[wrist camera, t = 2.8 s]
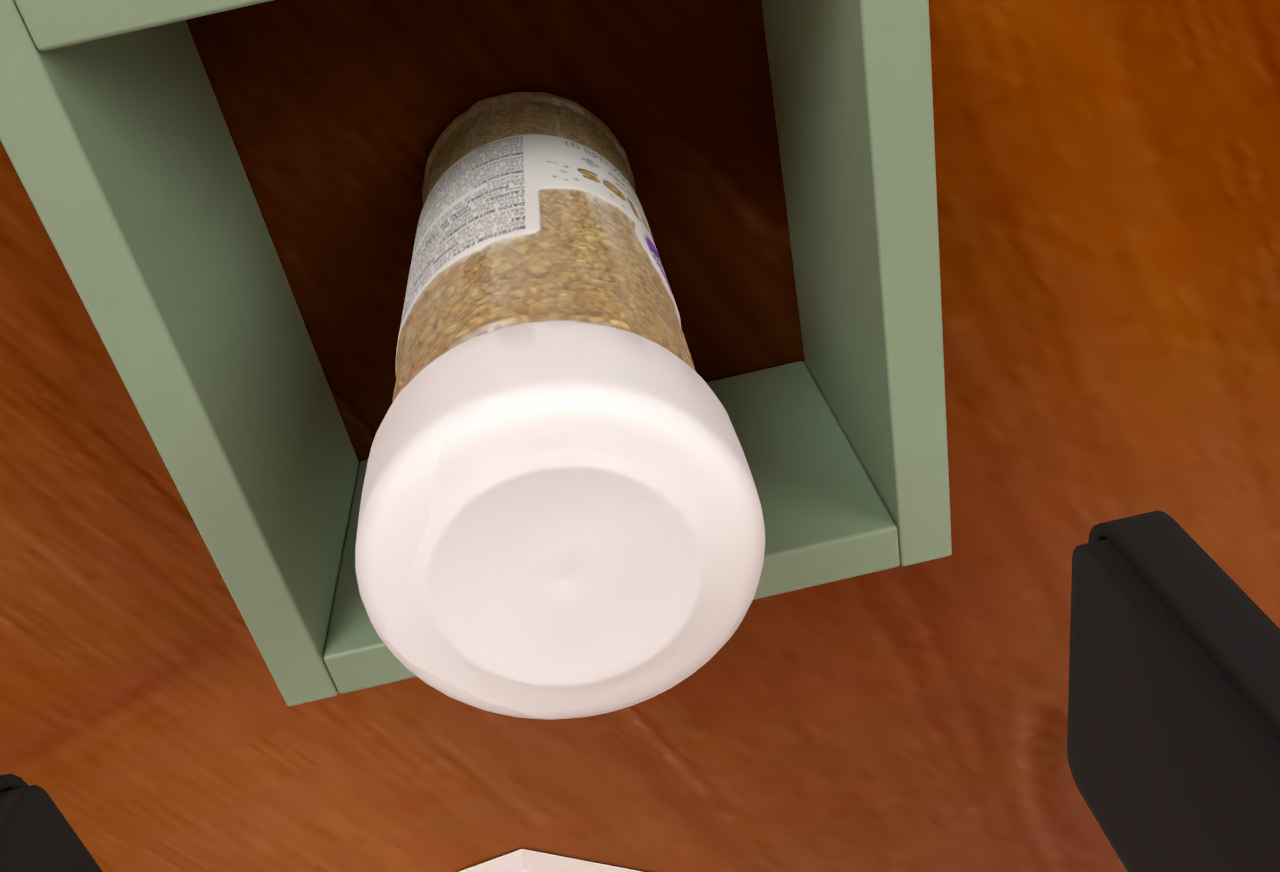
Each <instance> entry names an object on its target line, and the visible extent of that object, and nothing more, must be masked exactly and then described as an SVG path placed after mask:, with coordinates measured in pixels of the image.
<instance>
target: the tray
mask: <svg viewBox="0 0 1280 872" xmlns="http://www.w3.org/2000/svg"><path fill="white" fill-rule="evenodd" d="M459 872H642V871H637V870H631V869H626V868H621V867H615V866H610V865H605V864H600V863H594V862H589V861H584V860H578V859H573V858H568V857H563V856H557V855H552V854H547V853H541V852H536V851H531V850H526V849H520V850H517V851H515V852H512V853H509V854H506V855H504V856H501V857H498V858H495V859H492V860H490V861H487V862H484V863H481V864H479V865H476V866H473V867H470V868H467V869H465V870H462V871H459Z"/></svg>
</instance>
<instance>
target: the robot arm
mask: <svg viewBox="0 0 1280 872" xmlns="http://www.w3.org/2000/svg"><path fill="white" fill-rule="evenodd" d="M1067 752H1068V760H1069V765H1070V769H1071V772H1072V775H1073V778H1074V780H1075V783H1076V785H1077V787H1078V789H1079V791H1080V793H1081V795H1082V796H1083V798H1084V800H1085V801H1086V803H1087V805H1088V806H1089V808H1090V810H1091V811H1092V813H1093V815H1094V816H1095V818H1096V820H1097V821H1098V823H1099V825H1100V826H1101V828H1102V830H1103V831H1104V833H1105V835H1106V836H1107V838H1108V840H1109V841H1110V843H1111V845H1112V846H1113V848H1114V850H1115V851H1116V853H1117V854H1118V856H1119V858H1120V859H1121V861H1122V863H1123V864H1124V866H1125V868H1126V869H1127V871H1128V872H1280V629H1279V628H1278V627H1277V626H1276V625H1275V624H1274V623H1273V622H1272V621H1271V620H1270V619H1269V617H1268V616H1267V615H1266V614H1265V613H1264V612H1263V611H1262V610H1261V609H1260V608H1259V607H1258V606H1257V605H1256V604H1255V603H1254V602H1253V601H1252V600H1251V599H1250V598H1249V597H1248V596H1247V595H1246V594H1245V593H1244V592H1243V591H1242V590H1241V589H1240V588H1239V586H1238V585H1237V584H1236V583H1235V582H1234V581H1233V580H1232V579H1231V578H1230V577H1229V576H1228V575H1227V574H1226V573H1225V572H1224V571H1223V570H1222V569H1221V568H1220V567H1219V566H1218V565H1217V564H1216V563H1215V562H1214V561H1213V560H1212V559H1211V558H1210V557H1209V555H1208V554H1207V553H1206V552H1205V551H1204V550H1203V549H1202V548H1201V547H1200V546H1199V545H1198V544H1197V543H1196V542H1195V541H1194V540H1193V539H1192V538H1191V537H1190V536H1189V535H1188V534H1187V533H1186V532H1185V531H1184V530H1183V529H1182V528H1181V527H1180V526H1179V524H1178V523H1177V522H1176V521H1175V520H1174V519H1172V518H1171V517H1170V516H1169V515H1167V514H1166V513H1165V512H1161V511H1153V512H1149V513H1144V514H1140V515H1136V516H1131V517H1127V518H1122V519H1118V520H1114V521H1109V522H1105V523H1101V524H1098V525H1095V526H1093V528H1092V530H1091V532H1090V535H1089V541H1088V543H1087V544H1083V545H1079V546H1077V547H1076V548H1075V550H1074V551H1073V558H1072V592H1071V629H1070V667H1069V705H1068V742H1067ZM0 872H102V870H101V869H100V867H99V866H98V865H97V863H96V862H95V860H94V859H93V858H92V856H91V855H90V853H89V852H88V850H87V849H86V848H85V846H84V845H83V843H82V842H81V840H80V839H79V838H78V836H77V835H76V833H75V832H74V830H73V829H72V828H71V826H70V825H69V823H68V822H67V821H66V819H65V818H64V816H63V815H62V813H61V812H60V811H59V809H58V808H57V806H56V805H55V803H54V802H53V801H52V799H51V798H50V796H49V795H48V794H47V793H46V792H45V790H44V789H43V788H41V787H39V786H36V785H33V786H28V785H27V784H26V783H25V782H24V781H23V780H22V778H20V777H18V776H15V775H13V774H7V775H0Z"/></svg>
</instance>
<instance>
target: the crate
mask: <svg viewBox="0 0 1280 872" xmlns="http://www.w3.org/2000/svg"><path fill="white" fill-rule="evenodd" d="M268 1H273V0H0V140H1V142H2V144H3V146H4V148H5V150H6V152H7V154H8V156H9V158H10V160H11V162H12V164H13V166H14V168H15V170H16V172H17V174H18V176H19V178H20V180H21V182H22V184H23V186H24V188H25V190H26V191H27V193H28V195H29V197H30V199H31V201H32V203H33V205H34V207H35V209H36V211H37V213H38V215H39V217H40V219H41V221H42V223H43V225H44V227H45V229H46V231H47V233H48V235H49V237H50V239H51V241H52V243H53V245H54V247H55V249H56V251H57V253H58V255H59V257H60V258H61V260H62V262H63V264H64V266H65V268H66V270H67V272H68V274H69V276H70V278H71V280H72V282H73V284H74V286H75V288H76V290H77V292H78V294H79V296H80V298H81V300H82V302H83V304H84V306H85V308H86V310H87V312H88V314H89V316H90V318H91V320H92V322H93V324H94V326H95V327H96V329H97V331H98V333H99V335H100V337H101V339H102V341H103V343H104V345H105V347H106V349H107V351H108V353H109V355H110V357H111V359H112V361H113V363H114V365H115V367H116V369H117V371H118V373H119V375H120V377H121V379H122V381H123V383H124V385H125V387H126V389H127V391H128V393H129V394H130V396H131V398H132V400H133V402H134V404H135V406H136V408H137V410H138V412H139V414H140V416H141V418H142V420H143V422H144V424H145V426H146V428H147V430H148V432H149V434H150V436H151V438H152V440H153V442H154V444H155V446H156V448H157V450H158V452H159V454H160V456H161V458H162V460H163V461H164V463H165V465H166V467H167V469H168V471H169V473H170V475H171V477H172V479H173V481H174V483H175V485H176V487H177V489H178V491H179V493H180V495H181V497H182V499H183V501H184V503H185V505H186V507H187V509H188V511H189V513H190V515H191V517H192V519H193V521H194V523H195V525H196V527H197V529H198V530H199V532H200V534H201V536H202V538H203V540H204V542H205V544H206V546H207V548H208V550H209V552H210V554H211V556H212V558H213V560H214V562H215V564H216V566H217V568H218V570H219V572H220V574H221V576H222V578H223V580H224V582H225V584H226V586H227V588H228V590H229V592H230V594H231V596H232V597H233V599H234V601H235V603H236V605H237V607H238V609H239V611H240V613H241V615H242V617H243V619H244V621H245V623H246V625H247V627H248V629H249V631H250V633H251V635H252V637H253V639H254V641H255V643H256V645H257V647H258V649H259V651H260V653H261V655H262V657H263V659H264V661H265V663H266V664H267V666H268V668H269V670H270V672H271V674H272V676H273V678H274V680H275V682H276V684H277V686H278V688H279V690H280V692H281V694H282V696H283V698H284V700H285V702H286V704H287V705H288V706H294V705H299V704H303V703H307V702H312V701H316V700H320V699H325V698H329V697H334V696H336V695H337V694H338V692H339V693H342V694H344V693H348V692H353V691H357V690H361V689H366V688H370V687H375V686H379V685H383V684H388V683H392V682H396V681H401V680H405V679H410V678H414V677H417V676H416V675H415V674H413V673H412V672H411V671H409V670H408V669H407V668H406V667H405V666H404V665H403V664H402V663H401V662H400V661H399V660H398V659H397V658H396V657H395V656H394V655H393V653H392V652H391V651H390V650H389V649H388V647H387V646H386V645H385V643H384V642H383V641H382V640H381V638H380V637H379V636H378V634H377V632H376V630H375V628H374V627H373V625H372V623H371V621H370V619H369V616H368V614H367V611H366V609H365V606H364V604H363V601H362V599H361V596H360V592H359V587H358V581H357V576H356V571H355V546H356V537H357V527H358V518H359V511H360V504H361V496H362V490H363V485H364V479H365V474H366V469H367V463H368V459H366V460H362V461H361V462H360V464H359V461H358V459H357V456H356V454H355V451H354V449H353V446H352V443H351V441H350V438H349V436H348V433H347V431H346V428H345V426H344V423H343V420H342V418H341V415H340V413H339V410H338V408H337V405H336V403H335V400H334V398H333V395H332V392H331V390H330V387H329V385H328V382H327V380H326V377H325V375H324V372H323V369H322V367H321V364H320V362H319V359H318V357H317V354H316V352H315V349H314V346H313V344H312V341H311V339H310V336H309V334H308V331H307V329H306V326H305V323H304V321H303V318H302V316H301V313H300V311H299V308H298V306H297V303H296V301H295V298H294V295H293V293H292V290H291V288H290V285H289V283H288V280H287V278H286V275H285V272H284V270H283V267H282V265H281V262H280V260H279V257H278V255H277V252H276V249H275V247H274V244H273V242H272V239H271V237H270V234H269V232H268V229H267V226H266V224H265V221H264V219H263V216H262V214H261V211H260V209H259V206H258V204H257V201H256V198H255V196H254V193H253V191H252V188H251V186H250V183H249V181H248V178H247V175H246V173H245V170H244V168H243V165H242V163H241V160H240V158H239V155H238V152H237V150H236V147H235V145H234V142H233V140H232V137H231V135H230V132H229V129H228V127H227V124H226V122H225V119H224V117H223V114H222V112H221V109H220V107H219V104H218V101H217V99H216V96H215V94H214V91H213V89H212V86H211V84H210V81H209V78H208V76H207V73H206V71H205V68H204V66H203V63H202V61H201V58H200V55H199V53H198V50H197V48H196V45H195V43H194V40H193V38H192V35H191V32H190V30H189V27H188V25H187V22H186V20H188V19H192V18H197V17H201V16H206V15H210V14H215V13H219V12H224V11H228V10H232V9H237V8H241V7H246V6H250V5H255V4H259V3H264V2H268ZM761 3H762V11H763V19H764V28H765V36H766V44H767V53H768V61H769V69H770V78H771V86H772V94H773V103H774V111H775V119H776V128H777V136H778V144H779V153H780V161H781V169H782V177H783V186H784V194H785V202H786V211H787V219H788V227H789V236H790V244H791V252H792V261H793V269H794V277H795V286H796V294H797V302H798V311H799V319H800V327H801V336H802V344H803V352H804V361H805V363H804V362H803V361H798V362H794V363H789V364H785V365H781V366H776V367H772V368H767V369H763V370H759V371H754V372H750V373H745V374H741V375H737V376H732V377H728V378H723V379H719V380H715V381H710V382H706V383H707V385H708V386H709V387H710V388H711V390H712V391H713V392H714V394H715V395H716V397H717V398H718V399H719V401H720V402H721V404H722V405H723V407H724V408H725V410H726V412H727V414H728V416H729V419H730V421H731V423H732V426H733V428H734V430H735V433H736V435H737V437H738V440H739V442H740V445H741V447H742V449H743V452H744V455H745V457H746V460H747V463H748V466H749V469H750V471H751V474H752V477H753V480H754V483H755V486H756V490H757V493H758V497H759V500H760V504H761V508H762V514H763V520H764V526H765V552H764V563H763V568H762V572H761V576H760V579H759V583H758V587H757V590H756V593H755V596H754V598H753V600H755V599H759V598H764V597H768V596H772V595H777V594H781V593H786V592H790V591H794V590H799V589H803V588H807V587H812V586H816V585H821V584H825V583H829V582H834V581H838V580H842V579H847V578H851V577H856V576H860V575H864V574H869V573H873V572H877V571H882V570H886V569H891V568H895V567H898V566H899V565H900V563H901V565H902V566H908V565H912V564H917V563H921V562H925V561H930V560H934V559H938V558H943V557H947V556H951V555H952V544H951V520H950V496H949V473H948V449H947V425H946V402H945V378H944V355H943V331H942V307H941V284H940V260H939V236H938V213H937V189H936V165H935V142H934V118H933V94H932V71H931V47H930V24H929V0H761Z"/></svg>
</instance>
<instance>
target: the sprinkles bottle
mask: <svg viewBox="0 0 1280 872" xmlns="http://www.w3.org/2000/svg"><path fill="white" fill-rule="evenodd" d="M422 201H423V209H422V211H421V214H420V218H419V222H418V226H417V230H416V236H415V242H414V248H413V254H412V260H411V266H410V272H409V278H408V283H407V289H406V295H405V301H404V307H403V313H402V319H401V324H400V330H399V336H398V343H397V350H396V384H395V388H394V393H393V400H392V405H391V406H390V408H389V410H388V412H387V413H386V415H385V417H384V419H383V421H382V423H381V425H380V427H379V428H378V430H377V432H376V435H375V438H374V440H373V443H372V446H371V450H370V454H369V459H368V463H367V469H366V474H365V479H364V485H363V490H362V496H361V504H360V511H359V518H358V527H357V537H356V546H355V571H356V576H357V581H358V587H359V592H360V596H361V599H362V601H363V604H364V606H365V609H366V611H367V614H368V616H369V619H370V621H371V623H372V625H373V627H374V628H375V630H376V632H377V634H378V636H379V637H380V638H381V640H382V641H383V642H384V643H385V645H386V646H387V647H388V649H389V650H390V651H391V652H392V653H393V655H394V656H395V657H396V658H397V659H398V660H399V661H400V662H401V663H402V664H403V665H404V666H405V667H406V668H407V669H408V670H409V671H411V672H412V673H413V674H415V675H416V676H417V677H419V678H420V679H421V680H423V681H424V682H425V683H427V684H428V685H430V686H432V687H433V688H435V689H437V690H438V691H440V692H442V693H444V694H445V695H447V696H449V697H451V698H454V699H456V700H458V701H461V702H463V703H466V704H468V705H471V706H474V707H476V708H479V709H482V710H486V711H489V712H494V713H498V714H503V715H508V716H513V717H518V718H533V719H568V718H579V717H589V716H595V715H600V714H605V713H609V712H612V711H616V710H619V709H623V708H626V707H630V706H633V705H635V704H638V703H640V702H643V701H645V700H648V699H650V698H652V697H654V696H656V695H658V694H660V693H662V692H664V691H666V690H668V689H670V688H672V687H673V686H675V685H677V684H678V683H680V682H681V681H683V680H684V679H686V678H687V677H689V676H690V675H692V674H693V673H695V672H696V671H697V670H698V669H699V668H701V667H702V666H703V665H704V664H705V663H707V662H708V661H709V660H710V659H711V658H712V657H713V656H714V655H715V654H716V653H717V652H718V651H719V650H720V649H721V648H722V647H723V646H724V645H725V643H726V642H727V641H728V640H729V639H730V638H731V636H732V635H733V634H734V632H735V631H736V630H737V628H738V627H739V625H740V623H741V622H742V620H743V618H744V616H745V614H746V612H747V610H748V608H749V606H750V604H751V602H752V600H753V598H754V596H755V593H756V590H757V587H758V583H759V579H760V576H761V572H762V568H763V563H764V552H765V526H764V520H763V514H762V508H761V504H760V500H759V497H758V493H757V490H756V486H755V483H754V480H753V477H752V474H751V471H750V469H749V466H748V463H747V460H746V457H745V455H744V452H743V449H742V447H741V445H740V442H739V440H738V437H737V435H736V433H735V430H734V428H733V426H732V423H731V421H730V419H729V416H728V414H727V412H726V410H725V408H724V407H723V405H722V404H721V402H720V401H719V399H718V398H717V397H716V395H715V394H714V392H713V391H712V390H711V388H710V387H709V386H708V385H707V383H706V382H705V381H704V380H703V378H702V377H701V376H699V375H698V374H697V373H696V371H695V367H694V364H693V361H692V358H691V354H690V352H689V349H688V346H687V343H686V340H685V336H684V334H683V332H682V329H681V320H680V315H679V312H678V309H677V305H676V302H675V299H674V297H673V294H672V291H671V288H670V286H669V283H668V280H667V277H666V275H665V272H664V269H663V266H662V264H661V261H660V258H659V255H658V252H657V249H656V246H655V244H654V240H653V237H652V234H651V231H650V228H649V225H648V222H647V219H646V216H645V214H644V211H643V208H642V206H641V204H640V202H639V199H638V197H637V195H636V189H635V181H634V176H633V173H632V171H631V168H630V164H629V161H628V158H627V154H626V153H625V151H624V149H623V148H622V146H621V144H620V143H619V141H618V140H617V138H616V137H615V135H614V134H613V133H612V132H611V131H610V129H609V128H608V127H607V126H606V125H605V124H604V123H603V122H602V121H601V120H600V119H599V118H597V117H596V116H595V115H594V114H592V113H591V112H589V111H588V110H587V109H585V108H584V107H582V106H581V105H579V104H578V103H576V102H575V101H572V100H569V99H566V98H562V97H559V96H556V95H553V94H549V93H544V92H513V93H508V94H501V95H498V96H495V97H491V98H487V99H484V100H480V101H478V102H477V103H475V104H474V105H473V106H471V107H470V108H469V109H468V110H467V111H465V112H464V113H462V114H460V115H459V116H457V117H456V118H455V119H454V120H453V121H452V122H451V123H450V124H449V125H448V126H447V128H446V129H445V130H444V131H443V132H442V133H441V134H440V136H439V137H438V139H437V141H436V143H435V145H434V147H433V149H432V151H431V152H430V154H429V157H428V159H427V162H426V167H425V177H424V182H423V187H422Z"/></svg>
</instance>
